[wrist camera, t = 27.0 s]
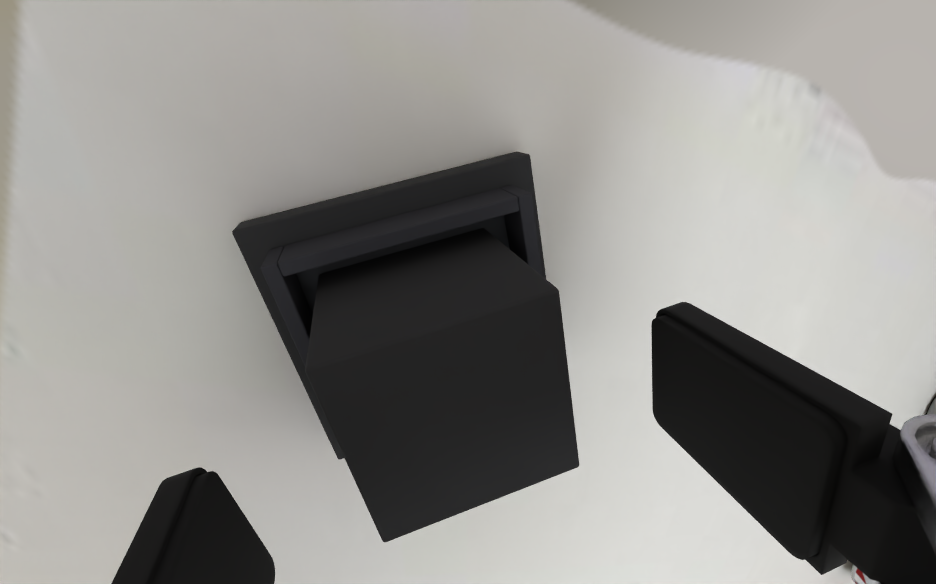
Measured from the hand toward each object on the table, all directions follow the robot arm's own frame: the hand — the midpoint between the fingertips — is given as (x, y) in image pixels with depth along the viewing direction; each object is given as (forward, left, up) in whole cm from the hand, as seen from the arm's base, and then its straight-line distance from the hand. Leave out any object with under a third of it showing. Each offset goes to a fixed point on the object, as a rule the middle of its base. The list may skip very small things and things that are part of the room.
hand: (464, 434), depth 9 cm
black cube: (0, 0, -5) cm, 5 cm away
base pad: (0, 0, -6) cm, 6 cm away
